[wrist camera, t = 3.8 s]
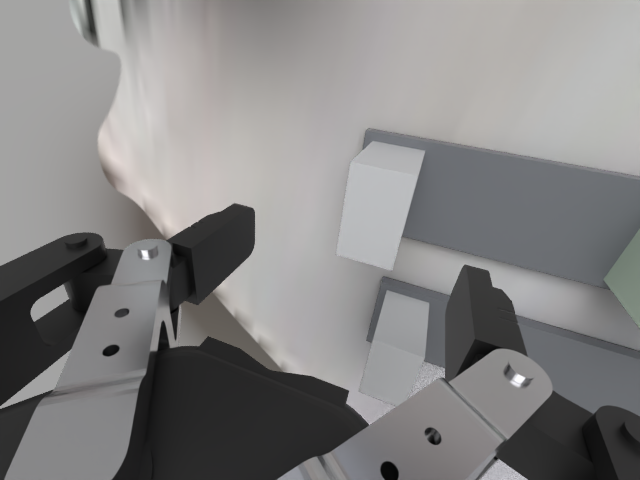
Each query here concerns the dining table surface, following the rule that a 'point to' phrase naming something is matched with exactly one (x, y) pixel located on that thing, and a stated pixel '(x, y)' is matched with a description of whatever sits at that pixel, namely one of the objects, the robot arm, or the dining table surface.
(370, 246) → the strip
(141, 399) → the robot arm
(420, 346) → the strip
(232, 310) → the dining table surface
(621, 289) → the block
